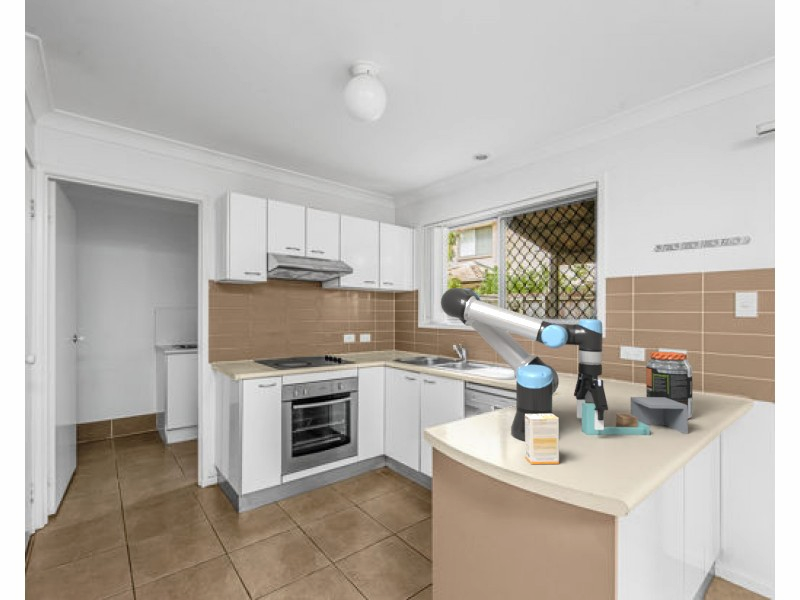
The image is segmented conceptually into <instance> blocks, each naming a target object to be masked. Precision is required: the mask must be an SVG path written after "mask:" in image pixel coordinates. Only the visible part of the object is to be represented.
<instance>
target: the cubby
mask: <svg viewBox="0 0 800 600" xmlns="http://www.w3.org/2000/svg"><path fill="white" fill-rule="evenodd" d="M630 415H632V416H634V417H637V418H638V421H640V422H642V423H644V424H646V425H664V426H666V427H668V428H671V429H673V430H675V431H677V432H679V433H682V434H684V435H685V434H686V435H687V434H688V429H689V428H688V427H689V426H688V421H689V420H688V412H687V405H685V404H682V403H679V402H676V401H674V400H671V399H668V398H665V397H647V396H630Z"/></svg>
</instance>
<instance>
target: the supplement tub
mask: <svg viewBox="0 0 800 600" xmlns="http://www.w3.org/2000/svg"><path fill="white" fill-rule="evenodd" d="M645 365H646V367H645V368H646V369H645V370H646V371H645V372H646V373H645V374H646V375H645V378H646V383H645V384H646V387H645V390H646V395H645V397H665V398H668V399H671V400H674V401H676V402H679V403H682V404H685V405H687V412H688V419H690V418H691V417H693V414H694V413H693V412H694V411H693V405H694V404H693V368H692V366H691V364H690V363H689V362H688V356H687V353H683V352H675V351H650V359H648V361H647V362H646V364H645Z"/></svg>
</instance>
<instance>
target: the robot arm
mask: <svg viewBox="0 0 800 600" xmlns="http://www.w3.org/2000/svg"><path fill="white" fill-rule="evenodd" d="M440 306H441V310H442V311H443V312H444V313H445V315H447V316H449V317H451V318H456V319H458V320H460V321H461V322H462V323H463V325H465V327H472V328H473V330H475V332H476V333H477V334H478V335H480V337H481V338H482V339H483V340H484V341H485V342H486V343H487V344H488V345H489V346H490V347H491V348H492V349H493V351H494V352H496V354H497V355H499V357H501V358H502V360H503V361H504V362H505V363H506V364H508V365H509V366H510V368H511V369H512V370H513V373H514V376H513V377H514V378H515V379H516V381H515V382H516V384H515V385H516V386H515V387H516V394H515V395H516V396H515V397H516V402H515V403H516V405H515V406H516V408H515V411H516V412H515V414H514V416H513V417H514V418H513V420H512V423H511V426H510V435H511V436H512V437H514V438H515V439H517V440H521V441H524V442H525V414H553V394H554V393H555V392H556V391H557V389H558V388H559V385H560V381H559V376H558V373H557V371H556V370H555V369H554V368H553V367H552V366H551V365H549V364H547V363H546V362H544V361H543V360H542V359H541V358H540V357H539V356H538V355H532V354H530V353H529V352H528V351H527V350H526V349H525V348H524V347H523V346H522V345H521V344H520V343H519V342H518V341H517V340H516V339H515V338H514V337H513V336H512V335H511V334H514V335H518V336H520V337H522V338H526V339H529V340H532V341H535V342H538V343H540V344H543V345H545V346H546V347H548V348H552V349H559V348H562V347H564V345H566V346H578V350H577V351H578V353H577V354H578V355H577V356H578V359H577V361H578V362H579V363H578V366H577V367H578V369H577V371H578V373H577V381H576V385H575V387H574V388H575V389H574V393H573V396H574V397H575V399H576V418H578V419H579V418H582V403H585V400H582V399H585V395H586V393H587V391H588V390H589V392H591V394H592V398H593V401H594V404H595V407H596V408H595V409H594V410H595V425H594V429H595V430H604V427H605V424H604V423H605V421H604V420H605V418H604V417H605V411H608V410H609V406H608V405H609V404H608V401H607V397H606V393H605V386H604V380H603V379H599V376H602V374H603V365H602V362H603V356H604V354H603V337H604V336H603V334H604V332H603V323H602V320H600V319H595V318H594V319H589V318H581V319H579V320H578V323H577V324H573V323H555V322H553V323H552V322H549V321H545V320H542V319H539V318H536V317H532V316H529V315H526V314H523V313H519V312H516V311H513V310H509V309H506V308H503V307H501V306H498V305H494V304H492V303H488V302H485V301H482V300H481V298H480V296H479V294H478V293H477V292H476V291H474V290H472V289H469V288H459V287H452V288H448V289H447V290H446V291H444V293H443V294H442V295H441V299H440ZM510 333H511V334H510ZM577 392H578V393H577Z"/></svg>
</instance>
